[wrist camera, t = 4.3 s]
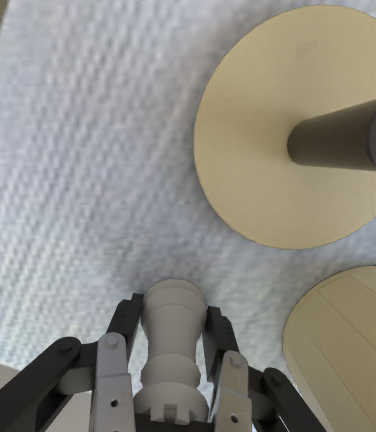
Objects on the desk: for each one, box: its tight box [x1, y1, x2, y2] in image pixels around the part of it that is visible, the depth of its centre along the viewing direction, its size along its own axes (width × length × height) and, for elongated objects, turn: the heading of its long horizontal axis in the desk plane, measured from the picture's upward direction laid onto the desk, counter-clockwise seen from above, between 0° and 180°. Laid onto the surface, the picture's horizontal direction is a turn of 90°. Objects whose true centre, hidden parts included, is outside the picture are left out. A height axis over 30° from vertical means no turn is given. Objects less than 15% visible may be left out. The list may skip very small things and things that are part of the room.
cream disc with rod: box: [193, 5, 376, 249], centre depth 10 cm, size 12×12×7 cm
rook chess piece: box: [133, 279, 209, 425], centre depth 12 cm, size 4×4×8 cm
